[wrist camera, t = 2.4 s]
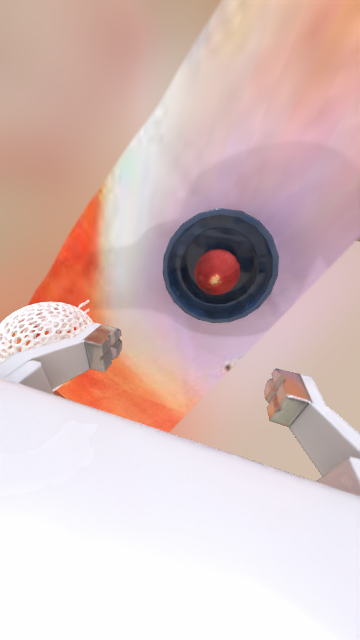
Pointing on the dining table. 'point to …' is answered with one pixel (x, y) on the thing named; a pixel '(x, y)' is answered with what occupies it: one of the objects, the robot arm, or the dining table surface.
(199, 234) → the bowl
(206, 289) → the onion
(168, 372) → the dining table surface
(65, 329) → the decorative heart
